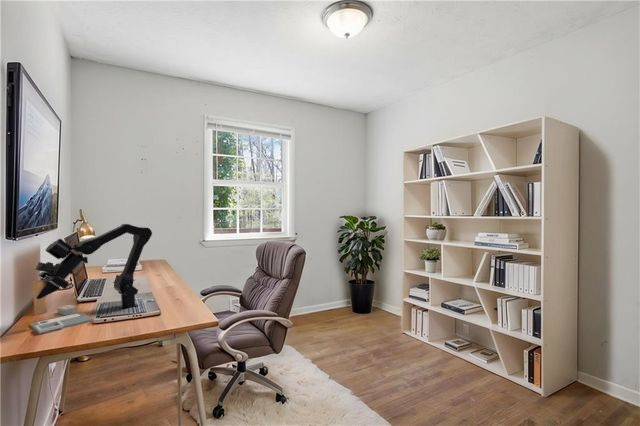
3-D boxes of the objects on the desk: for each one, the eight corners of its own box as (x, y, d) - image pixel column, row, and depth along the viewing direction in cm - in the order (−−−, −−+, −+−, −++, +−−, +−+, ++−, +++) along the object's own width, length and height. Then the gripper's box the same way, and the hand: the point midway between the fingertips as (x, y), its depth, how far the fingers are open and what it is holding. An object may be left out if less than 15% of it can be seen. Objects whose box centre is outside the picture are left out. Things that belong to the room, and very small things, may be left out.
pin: (49, 311, 138) (48, 280, 137) (40, 314, 134) (38, 282, 133) (41, 311, 138) (39, 279, 138) (31, 314, 134) (30, 282, 134)
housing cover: (77, 312, 155) (77, 306, 155) (65, 315, 151) (65, 309, 151) (70, 310, 159) (69, 304, 159) (57, 313, 154) (57, 307, 154)
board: (94, 321, 142) (94, 317, 142) (39, 334, 128) (39, 330, 128) (81, 313, 153) (81, 309, 153) (30, 325, 139) (30, 321, 139)
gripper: (43, 252, 144) (10, 283, 136) (57, 256, 133) (22, 290, 124) (66, 267, 151) (36, 298, 142) (81, 272, 139) (50, 305, 131)
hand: (35, 297), depth 135 cm, fingers closed on pin, 4 cm apart
